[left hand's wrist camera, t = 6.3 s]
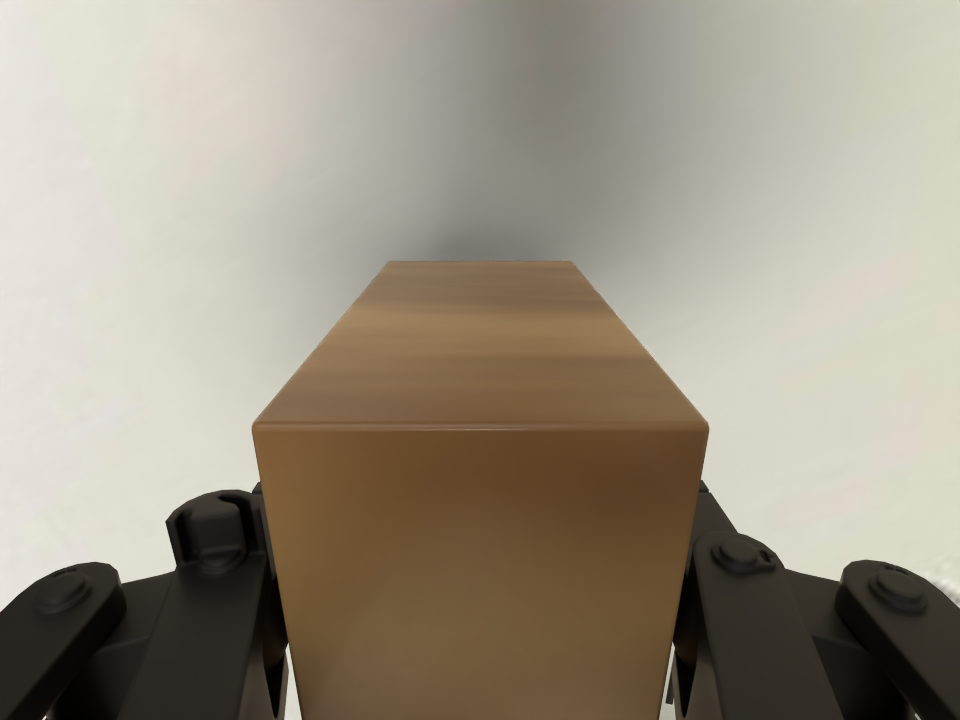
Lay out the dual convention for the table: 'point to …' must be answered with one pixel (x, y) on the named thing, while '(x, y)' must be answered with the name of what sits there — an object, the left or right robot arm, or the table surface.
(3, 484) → the table surface
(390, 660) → the bar
